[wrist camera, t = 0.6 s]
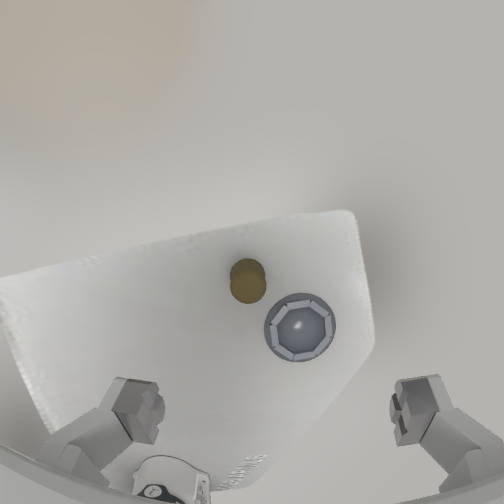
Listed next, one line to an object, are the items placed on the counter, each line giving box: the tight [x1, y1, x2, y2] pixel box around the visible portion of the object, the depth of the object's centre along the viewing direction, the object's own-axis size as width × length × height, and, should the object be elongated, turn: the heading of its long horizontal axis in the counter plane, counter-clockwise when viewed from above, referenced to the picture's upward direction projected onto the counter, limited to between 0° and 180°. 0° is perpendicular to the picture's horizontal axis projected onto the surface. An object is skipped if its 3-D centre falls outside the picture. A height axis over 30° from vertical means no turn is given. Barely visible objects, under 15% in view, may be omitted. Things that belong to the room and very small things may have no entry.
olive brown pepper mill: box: [230, 259, 266, 304], centre depth 51 cm, size 6×6×11 cm
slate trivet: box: [265, 294, 336, 362], centre depth 57 cm, size 13×13×2 cm
